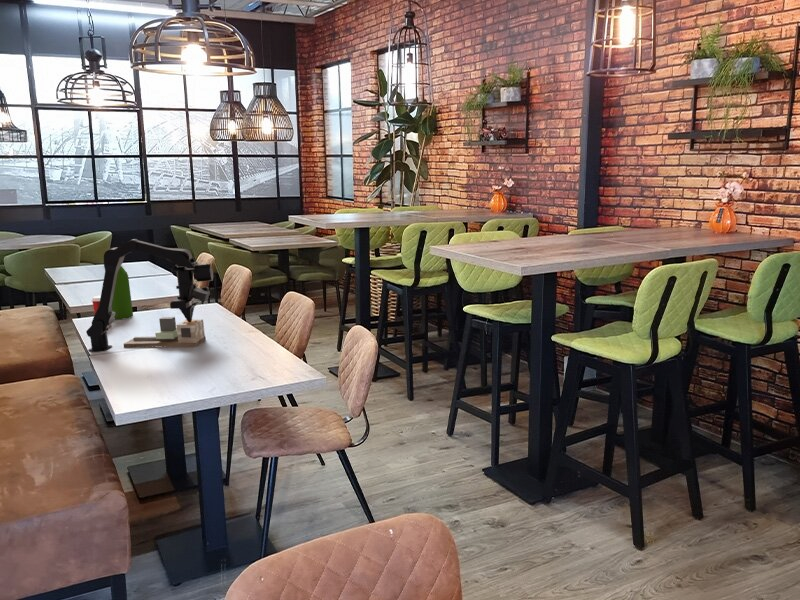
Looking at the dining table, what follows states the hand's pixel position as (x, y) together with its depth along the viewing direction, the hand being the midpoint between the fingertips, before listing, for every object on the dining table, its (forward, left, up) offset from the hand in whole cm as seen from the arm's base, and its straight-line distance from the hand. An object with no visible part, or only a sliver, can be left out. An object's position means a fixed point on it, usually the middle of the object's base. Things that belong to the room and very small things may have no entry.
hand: (189, 321), depth 261 cm
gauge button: (0, 0, -5) cm, 5 cm away
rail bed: (0, +11, -9) cm, 14 cm away
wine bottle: (+48, +54, -9) cm, 73 cm away
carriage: (0, +9, -6) cm, 11 cm away
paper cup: (+28, +52, -9) cm, 60 cm away
